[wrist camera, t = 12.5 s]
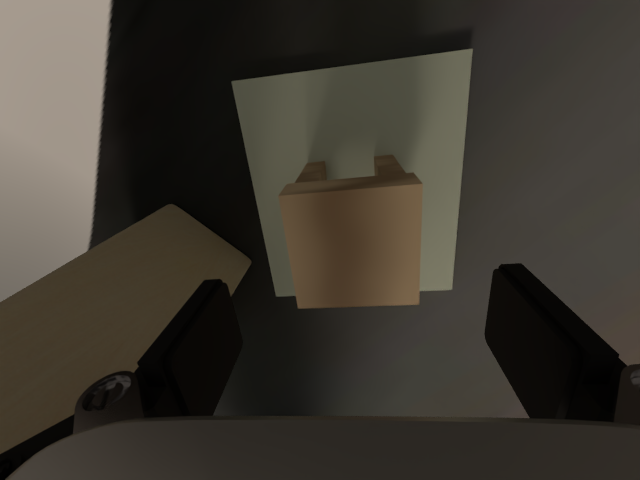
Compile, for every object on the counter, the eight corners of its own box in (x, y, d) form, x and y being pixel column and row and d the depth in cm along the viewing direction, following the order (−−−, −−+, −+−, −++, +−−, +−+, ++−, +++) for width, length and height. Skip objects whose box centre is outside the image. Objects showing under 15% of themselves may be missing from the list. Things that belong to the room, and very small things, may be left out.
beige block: (132, 261, 26) (-427, 687, 7) (169, 199, 23) (-583, 633, 5) (210, 311, 28) (-81, 764, 9) (253, 259, 25) (-39, 761, 6)
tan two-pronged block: (395, 151, 19) (422, 183, 12) (396, 235, 22) (418, 304, 15) (303, 159, 20) (278, 195, 13) (314, 241, 23) (298, 308, 16)
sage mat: (448, 282, 24) (451, 289, 23) (278, 289, 26) (276, 296, 25) (466, 51, 18) (472, 48, 17) (236, 81, 19) (231, 81, 19)
